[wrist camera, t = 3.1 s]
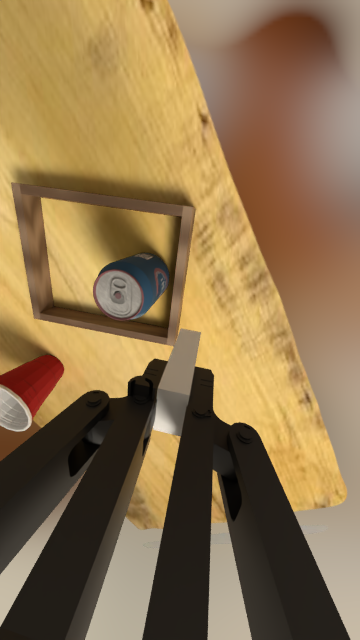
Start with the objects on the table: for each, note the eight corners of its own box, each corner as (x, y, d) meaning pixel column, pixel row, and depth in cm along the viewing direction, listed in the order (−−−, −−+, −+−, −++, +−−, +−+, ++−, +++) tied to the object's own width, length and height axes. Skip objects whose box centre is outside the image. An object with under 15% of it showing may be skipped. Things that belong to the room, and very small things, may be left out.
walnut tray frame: (31, 187, 32) (11, 182, 29) (195, 209, 29) (193, 206, 26) (48, 311, 40) (34, 318, 37) (177, 336, 38) (173, 346, 34)
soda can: (167, 299, 35) (143, 332, 24) (126, 289, 36) (86, 317, 25) (174, 257, 32) (152, 272, 22) (131, 247, 33) (88, 256, 22)
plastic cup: (18, 357, 46) (-44, 397, 35) (48, 335, 42) (-10, 372, 31) (53, 393, 49) (5, 441, 38) (85, 376, 45) (42, 423, 34)
